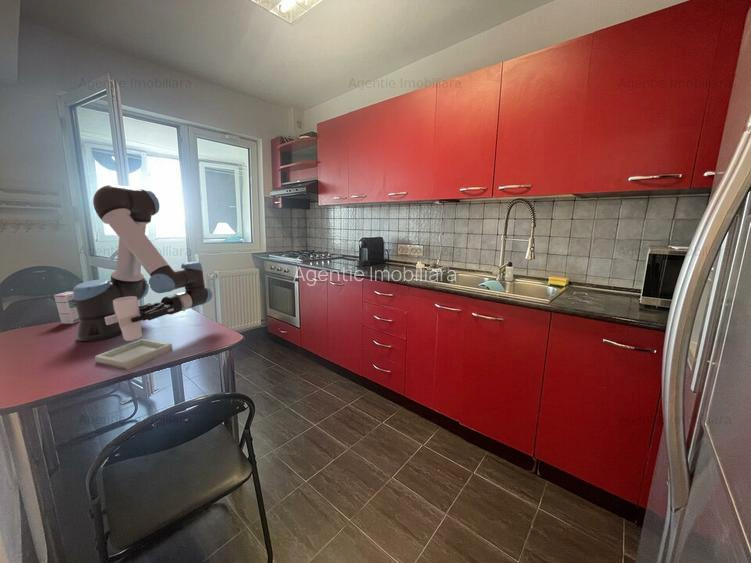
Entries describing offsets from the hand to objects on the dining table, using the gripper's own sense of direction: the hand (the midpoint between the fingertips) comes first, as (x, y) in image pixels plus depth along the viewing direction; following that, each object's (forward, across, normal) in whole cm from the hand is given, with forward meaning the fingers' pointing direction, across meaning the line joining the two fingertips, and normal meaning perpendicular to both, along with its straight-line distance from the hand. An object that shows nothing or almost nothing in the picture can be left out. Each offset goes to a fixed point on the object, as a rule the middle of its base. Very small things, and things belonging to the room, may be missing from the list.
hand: (112, 322), depth 101 cm
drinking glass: (-5, 0, -8) cm, 10 cm away
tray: (-5, 0, -15) cm, 16 cm away
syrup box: (-20, +68, -14) cm, 72 cm away
